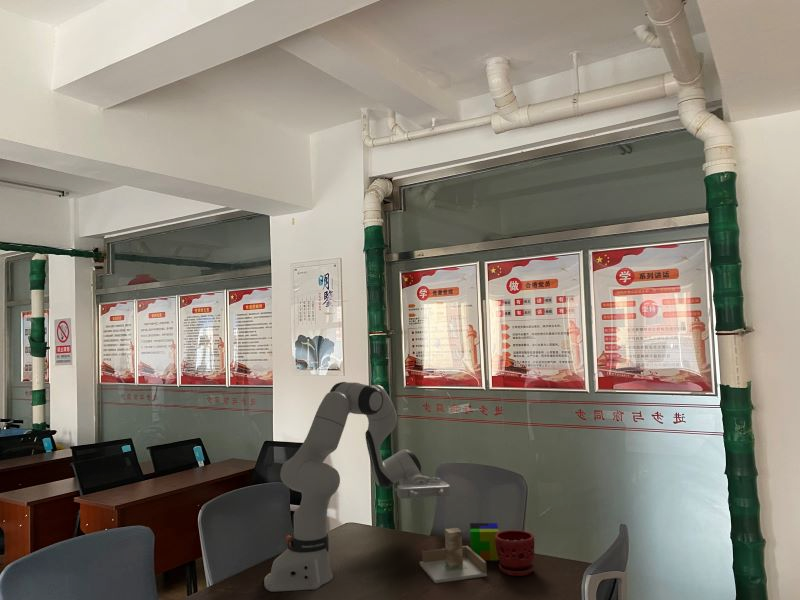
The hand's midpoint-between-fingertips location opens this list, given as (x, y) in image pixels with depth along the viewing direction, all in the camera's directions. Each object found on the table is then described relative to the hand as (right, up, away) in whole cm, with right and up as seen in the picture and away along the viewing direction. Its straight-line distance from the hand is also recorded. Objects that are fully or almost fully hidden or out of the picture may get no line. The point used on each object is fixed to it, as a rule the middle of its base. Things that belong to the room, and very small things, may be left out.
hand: (429, 495), depth 223 cm
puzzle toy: (+20, -22, -1) cm, 30 cm away
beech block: (+8, -20, -13) cm, 25 cm away
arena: (+7, -21, -14) cm, 26 cm away
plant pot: (+28, -21, -16) cm, 39 cm away
